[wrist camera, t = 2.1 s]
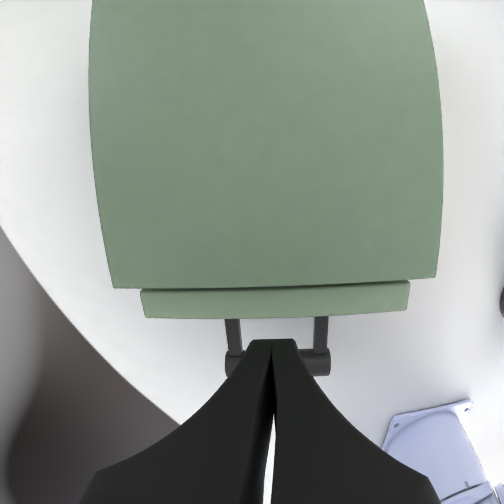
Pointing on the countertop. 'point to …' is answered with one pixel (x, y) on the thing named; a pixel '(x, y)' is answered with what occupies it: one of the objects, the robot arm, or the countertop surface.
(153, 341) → the countertop surface
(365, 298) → the drawer
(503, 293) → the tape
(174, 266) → the cabinet
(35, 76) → the countertop surface
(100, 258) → the countertop surface
